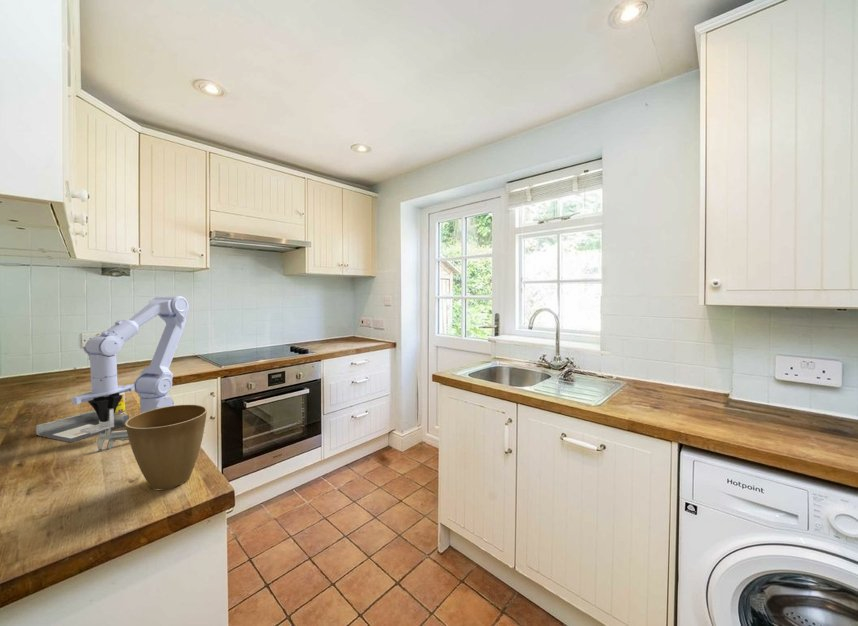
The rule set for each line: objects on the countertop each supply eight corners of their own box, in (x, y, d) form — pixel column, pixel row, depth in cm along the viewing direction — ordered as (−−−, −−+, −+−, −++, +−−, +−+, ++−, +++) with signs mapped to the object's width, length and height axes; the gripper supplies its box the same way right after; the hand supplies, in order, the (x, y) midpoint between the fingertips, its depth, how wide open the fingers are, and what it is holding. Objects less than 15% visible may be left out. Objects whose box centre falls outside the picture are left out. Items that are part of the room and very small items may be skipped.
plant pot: (121, 484, 78) (119, 416, 77) (197, 460, 89) (195, 400, 88) (136, 510, 68) (133, 433, 68) (218, 479, 80) (216, 413, 79)
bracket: (103, 424, 104) (102, 407, 103) (114, 426, 102) (113, 408, 102) (80, 431, 98) (79, 413, 98) (91, 433, 97) (90, 414, 97)
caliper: (98, 453, 93) (97, 431, 93) (97, 452, 94) (96, 430, 94) (185, 430, 110) (184, 411, 109) (184, 429, 110) (183, 410, 110)
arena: (129, 424, 114) (128, 415, 114) (70, 442, 99) (70, 432, 99) (96, 418, 119) (96, 409, 118) (36, 435, 104) (35, 425, 104)
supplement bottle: (102, 418, 119) (101, 389, 119) (106, 413, 124) (105, 386, 123) (124, 415, 122) (122, 387, 122) (127, 410, 127) (125, 384, 126)
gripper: (123, 370, 110) (125, 411, 110) (63, 380, 96) (66, 427, 97) (138, 371, 108) (140, 413, 108) (80, 382, 94) (82, 430, 94)
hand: (106, 420), depth 102 cm, fingers closed on bracket
